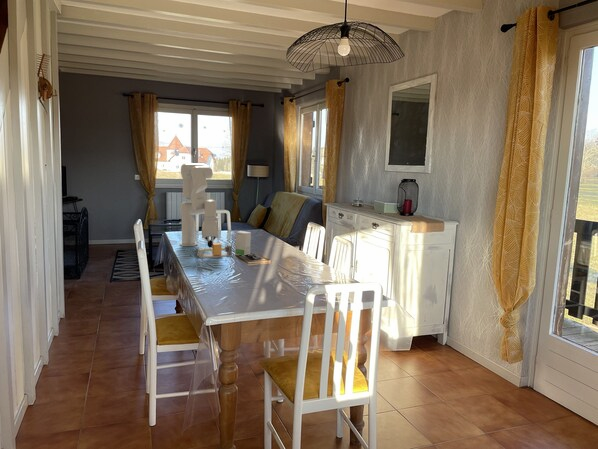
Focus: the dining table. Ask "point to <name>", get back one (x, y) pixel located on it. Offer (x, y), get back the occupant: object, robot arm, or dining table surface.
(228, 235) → the dining table surface
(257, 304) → the dining table surface
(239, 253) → the skincare box
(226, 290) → the dining table surface
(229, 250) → the rail
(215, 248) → the sleeve
